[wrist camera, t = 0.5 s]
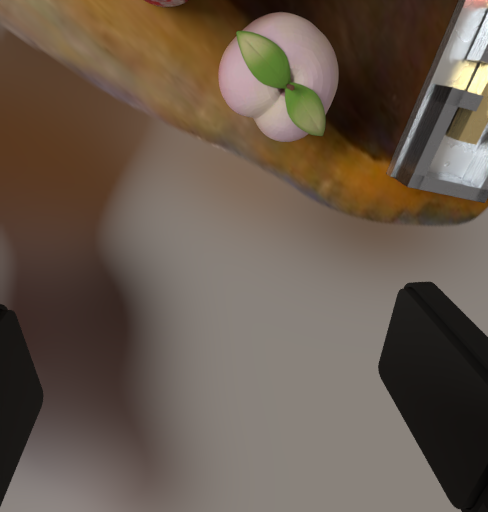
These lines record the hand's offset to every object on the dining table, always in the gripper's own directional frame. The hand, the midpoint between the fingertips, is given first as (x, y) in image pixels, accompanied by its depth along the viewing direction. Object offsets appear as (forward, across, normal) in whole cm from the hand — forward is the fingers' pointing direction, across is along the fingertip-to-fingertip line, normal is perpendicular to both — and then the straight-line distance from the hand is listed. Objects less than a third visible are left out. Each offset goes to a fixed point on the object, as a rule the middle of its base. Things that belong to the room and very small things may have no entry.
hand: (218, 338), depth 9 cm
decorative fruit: (+30, -6, -4) cm, 30 cm away
